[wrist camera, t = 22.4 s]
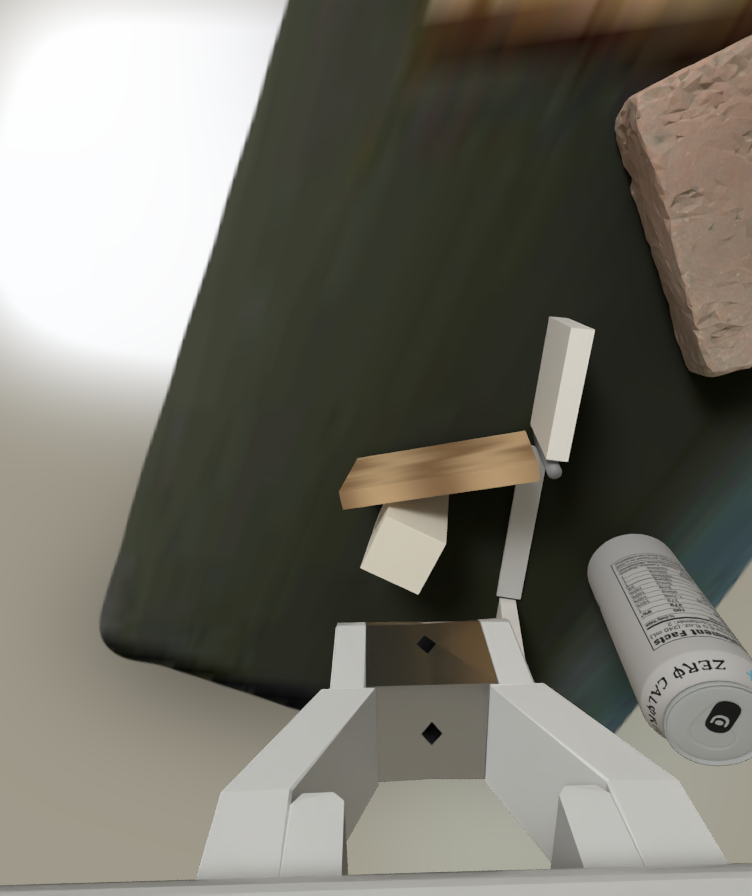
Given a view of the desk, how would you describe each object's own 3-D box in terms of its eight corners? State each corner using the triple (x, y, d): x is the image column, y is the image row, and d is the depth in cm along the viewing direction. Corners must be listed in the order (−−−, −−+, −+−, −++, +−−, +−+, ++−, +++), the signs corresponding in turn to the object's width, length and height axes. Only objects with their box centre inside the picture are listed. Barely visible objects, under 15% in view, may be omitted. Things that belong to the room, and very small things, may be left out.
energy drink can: (572, 586, 41) (630, 752, 27) (603, 517, 39) (683, 656, 25) (651, 610, 41) (751, 791, 26) (686, 542, 39) (816, 698, 24)
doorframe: (544, 316, 35) (565, 327, 28) (573, 318, 35) (601, 330, 28) (483, 666, 44) (487, 741, 37) (506, 670, 44) (514, 746, 37)
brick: (825, 324, 33) (881, 331, 29) (682, 376, 36) (714, 390, 31) (758, 40, 30) (810, -1, 25) (604, 117, 32) (627, 91, 28)
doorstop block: (399, 470, 40) (385, 515, 33) (449, 492, 40) (446, 543, 33) (378, 514, 42) (360, 568, 34) (426, 536, 42) (418, 594, 34)
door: (525, 430, 37) (537, 461, 31) (529, 460, 38) (542, 496, 32) (357, 458, 40) (338, 492, 34) (364, 485, 40) (346, 524, 34)
